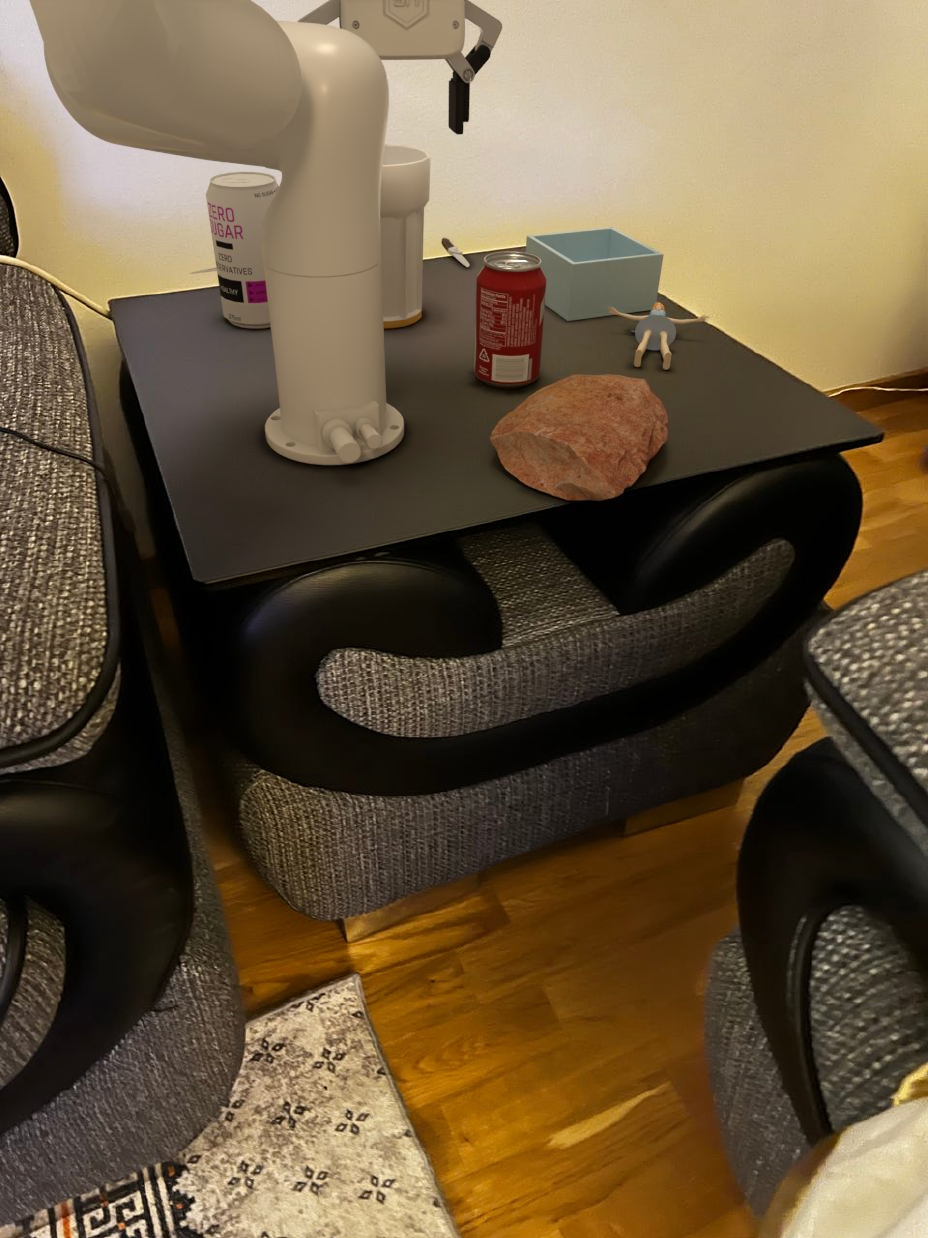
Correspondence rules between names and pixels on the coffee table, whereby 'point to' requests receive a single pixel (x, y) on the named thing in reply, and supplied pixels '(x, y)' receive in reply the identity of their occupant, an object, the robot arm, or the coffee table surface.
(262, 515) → the coffee table surface
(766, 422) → the coffee table surface
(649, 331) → the fairy figurine
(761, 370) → the coffee table surface
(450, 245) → the pocket knife
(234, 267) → the supplement can
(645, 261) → the case
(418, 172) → the cup
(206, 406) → the coffee table surface
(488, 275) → the soda can
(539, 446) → the stone
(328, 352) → the robot arm
